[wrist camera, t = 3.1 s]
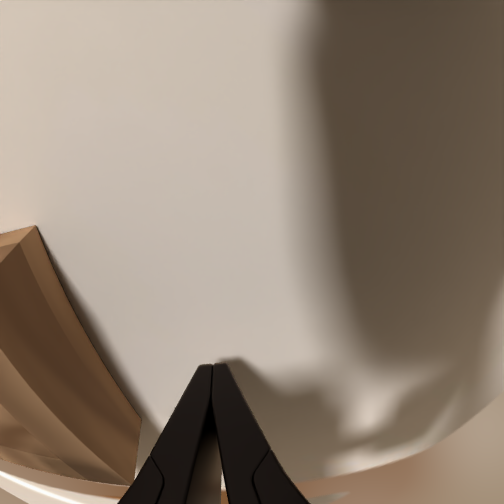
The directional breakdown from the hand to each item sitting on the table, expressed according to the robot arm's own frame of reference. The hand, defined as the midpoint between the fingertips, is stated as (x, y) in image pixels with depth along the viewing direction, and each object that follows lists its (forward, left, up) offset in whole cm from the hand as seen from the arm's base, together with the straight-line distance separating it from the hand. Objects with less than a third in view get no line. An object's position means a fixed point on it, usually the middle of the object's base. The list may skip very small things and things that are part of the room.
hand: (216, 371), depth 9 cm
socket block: (+9, 0, -1) cm, 10 cm away
